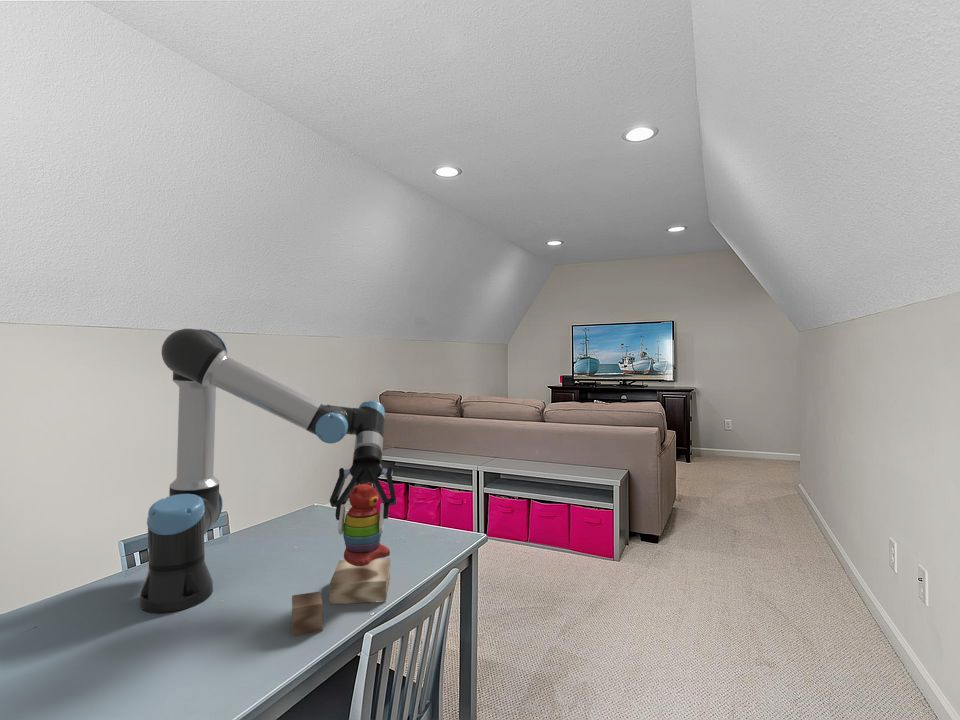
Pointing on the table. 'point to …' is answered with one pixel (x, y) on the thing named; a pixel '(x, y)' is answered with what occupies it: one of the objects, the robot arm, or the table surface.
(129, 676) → the table surface
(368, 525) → the stacking bear
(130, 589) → the table surface
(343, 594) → the maple block
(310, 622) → the walnut cube
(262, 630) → the table surface
